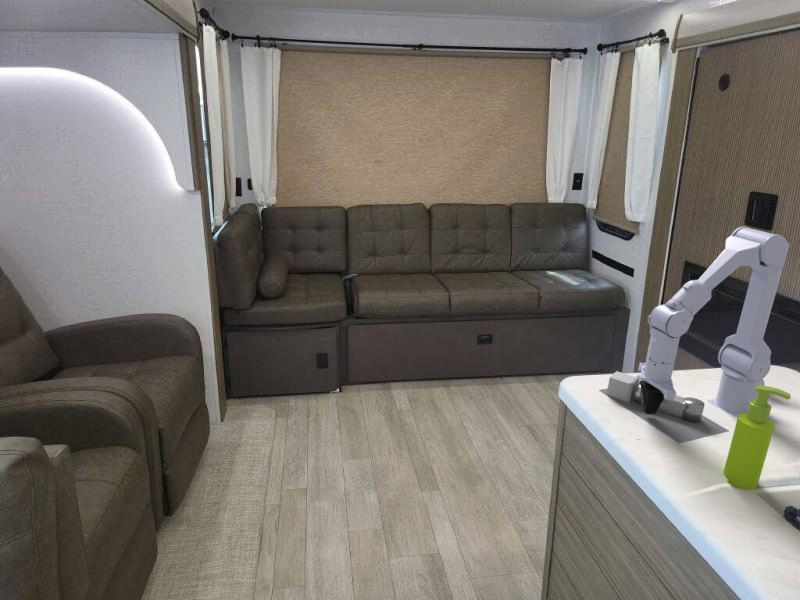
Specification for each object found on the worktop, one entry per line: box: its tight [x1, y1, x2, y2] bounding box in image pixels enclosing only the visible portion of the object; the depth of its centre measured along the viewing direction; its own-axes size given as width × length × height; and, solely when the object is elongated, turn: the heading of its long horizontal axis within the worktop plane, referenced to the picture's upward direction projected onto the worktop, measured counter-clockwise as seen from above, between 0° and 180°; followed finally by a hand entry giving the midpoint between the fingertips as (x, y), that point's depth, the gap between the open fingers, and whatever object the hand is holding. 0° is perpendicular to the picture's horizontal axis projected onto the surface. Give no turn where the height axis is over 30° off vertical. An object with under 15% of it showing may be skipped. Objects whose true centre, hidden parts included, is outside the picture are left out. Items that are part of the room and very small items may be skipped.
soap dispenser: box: [723, 385, 791, 491], centre depth 106 cm, size 6×7×20 cm
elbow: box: [635, 384, 705, 422], centre depth 133 cm, size 14×5×5 cm, turn 52°
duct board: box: [598, 370, 730, 444], centre depth 133 cm, size 15×25×6 cm, turn 23°
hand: (649, 412), depth 130 cm, fingers closed
